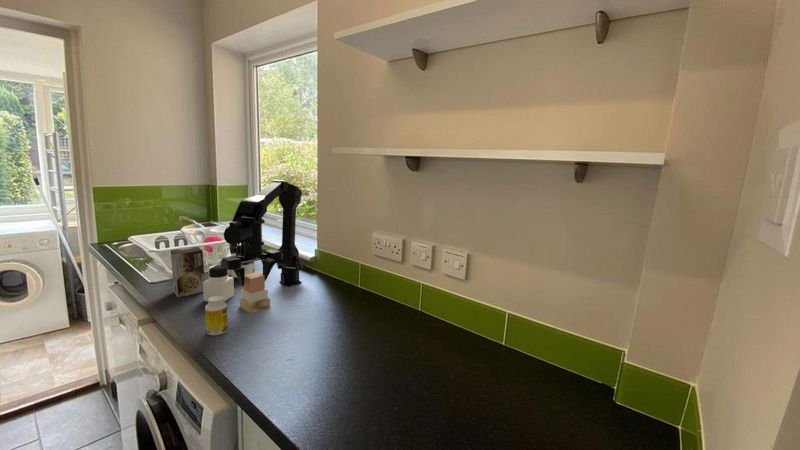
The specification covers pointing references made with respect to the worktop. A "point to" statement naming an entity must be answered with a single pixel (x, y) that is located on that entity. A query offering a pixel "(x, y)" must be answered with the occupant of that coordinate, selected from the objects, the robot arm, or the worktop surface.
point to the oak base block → (254, 305)
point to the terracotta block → (254, 282)
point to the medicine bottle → (218, 283)
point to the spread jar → (248, 267)
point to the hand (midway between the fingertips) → (253, 283)
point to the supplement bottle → (216, 316)
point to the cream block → (254, 295)
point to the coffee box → (187, 271)
